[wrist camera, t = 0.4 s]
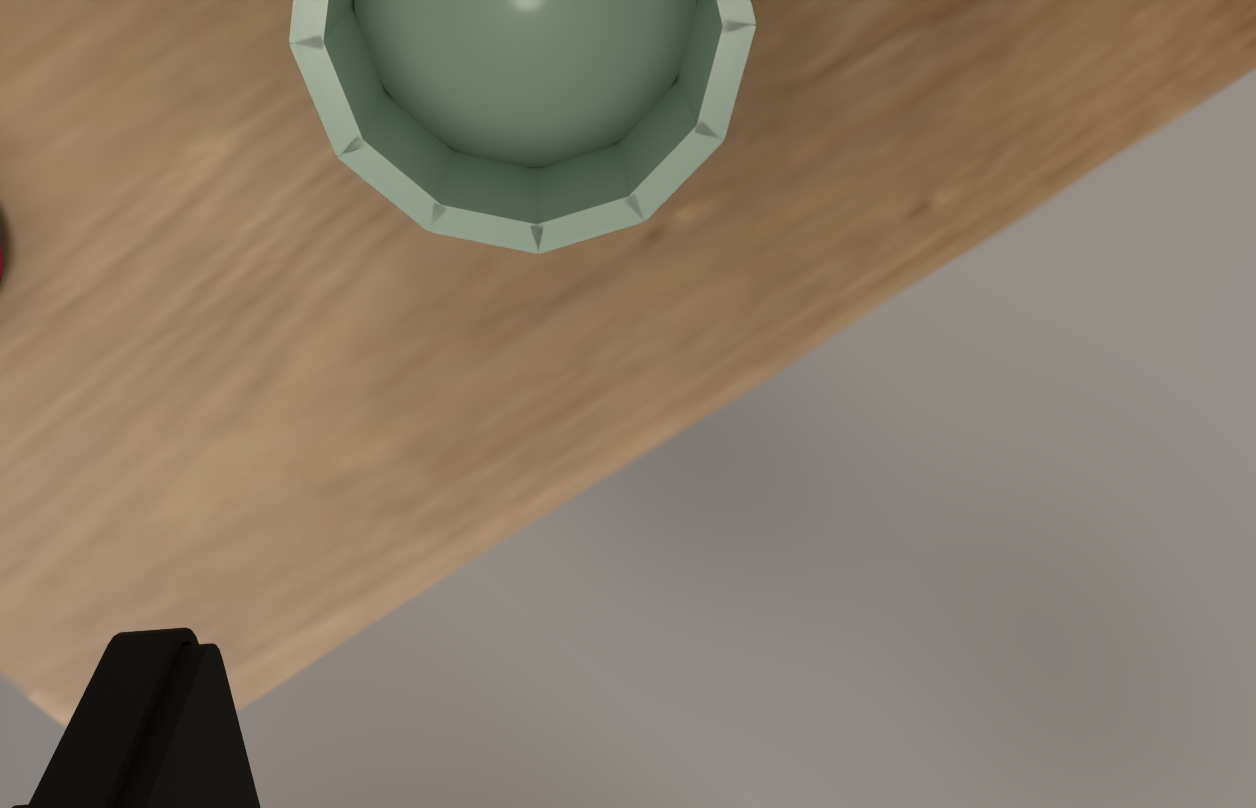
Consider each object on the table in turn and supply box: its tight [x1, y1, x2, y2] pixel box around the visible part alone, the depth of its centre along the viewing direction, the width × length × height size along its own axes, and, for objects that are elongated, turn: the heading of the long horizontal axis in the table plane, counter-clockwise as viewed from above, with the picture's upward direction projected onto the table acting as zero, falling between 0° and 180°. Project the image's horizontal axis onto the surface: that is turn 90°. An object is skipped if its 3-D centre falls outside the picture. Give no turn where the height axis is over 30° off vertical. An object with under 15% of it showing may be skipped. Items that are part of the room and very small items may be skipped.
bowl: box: [289, 0, 756, 254], centre depth 32 cm, size 11×11×6 cm
